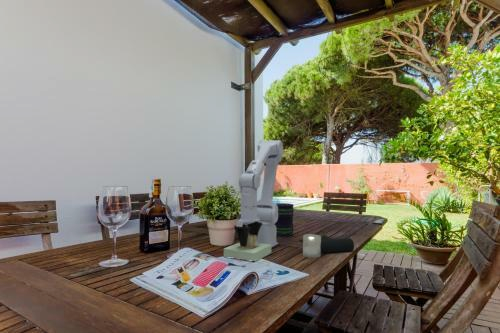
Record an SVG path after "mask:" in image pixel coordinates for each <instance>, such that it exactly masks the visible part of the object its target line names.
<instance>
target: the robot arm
mask: <svg viewBox="0 0 500 333" xmlns="http://www.w3.org/2000/svg"><path fill="white" fill-rule="evenodd" d="M256 147H257V155H256V157H255V159H253V160H251V161H250V163H249V165H248V167H247V169H246V171H245V172H244V173H242V174H240V175H239V178H238V186H239V193H240V194H241V196H240V199H241V200H240V202H241V203H240V204H241V205H240V218H239V219H238V220H236V223H235V224H236V225H234V227H233V229H234V230H235V232H236V234H237V238H238V241H239V242H240V246H243V247H246V245H247V239H248V234H250V235H257V238H256V243H262V244H270V245H271V248H273V247H275V246H277V245H279V242H277V237H276V226H275V225H274V224H275V223H276V222H277V220H278V206H277V204H276V202H275V201H274V200H273V199H274V194H275V191H274V190H275V184H276V177H277V171H278V165H279V163H280V162H282V158H283V153H284V147H283V142H282V140H281V139H278V140H274V139H273V140H259V141H258V143H257V146H256ZM263 172H264V176H263V183H262V190H261V195H260V199H258V189H259V188H260V185H261V180H262V178H261V177H262V174H263ZM239 242H238V243H239Z"/></svg>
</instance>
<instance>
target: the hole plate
mask: <svg viewBox="0 0 500 333" xmlns="http://www.w3.org/2000/svg"><path fill="white" fill-rule="evenodd" d="M270 254H272V247H271V245H270V244H262V243H256V248H254V249H245V248H241V246H240V242H237V243H235V244H232V245H229V246H227V247H223V258H226V257H234V258H240V259H246V260H252V261H255V260H257V259H259V260H261V259H263V258H265V257H266V256H268V255H270Z"/></svg>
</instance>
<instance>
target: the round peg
mask: <svg viewBox="0 0 500 333" xmlns="http://www.w3.org/2000/svg"><path fill="white" fill-rule="evenodd" d="M321 255H322V253H321V236H320V234H319V235H318V234H313V233H312V234H311V233H309V234H307V233H305V234H303V235H302V256H304V257H306V258H312V259H314V258H320V257H322V256H321Z"/></svg>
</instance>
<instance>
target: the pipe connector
mask: <svg viewBox="0 0 500 333" xmlns="http://www.w3.org/2000/svg"><path fill="white" fill-rule="evenodd" d="M319 235H320V234H319ZM320 236H321V254H331V253H332V254H333V253H345V252H346V253H347V252H353V251H354V249H355V244H354V241H353V239H352V238H350V237H346V238H332V237H331V236H330V235H329V236H328V235H326V234H321V235H320Z"/></svg>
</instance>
